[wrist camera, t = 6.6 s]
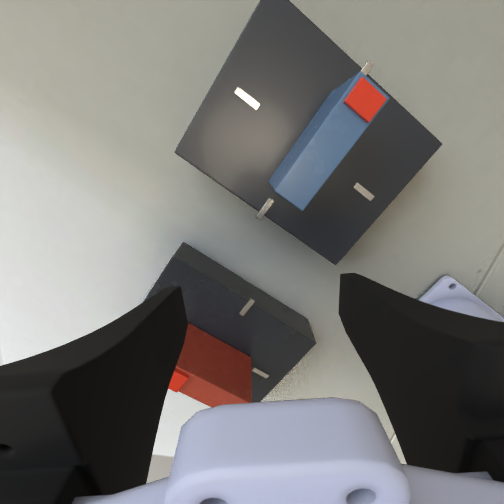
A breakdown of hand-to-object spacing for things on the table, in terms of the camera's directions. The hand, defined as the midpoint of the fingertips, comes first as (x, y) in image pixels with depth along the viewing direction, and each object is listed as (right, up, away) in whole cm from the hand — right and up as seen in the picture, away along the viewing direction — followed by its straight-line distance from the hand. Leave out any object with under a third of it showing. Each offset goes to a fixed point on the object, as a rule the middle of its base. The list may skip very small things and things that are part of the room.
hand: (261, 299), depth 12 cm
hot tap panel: (-3, -4, +10) cm, 11 cm away
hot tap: (-3, -5, +7) cm, 9 cm away
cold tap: (+3, +8, +3) cm, 9 cm away
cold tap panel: (+3, +9, +6) cm, 11 cm away
